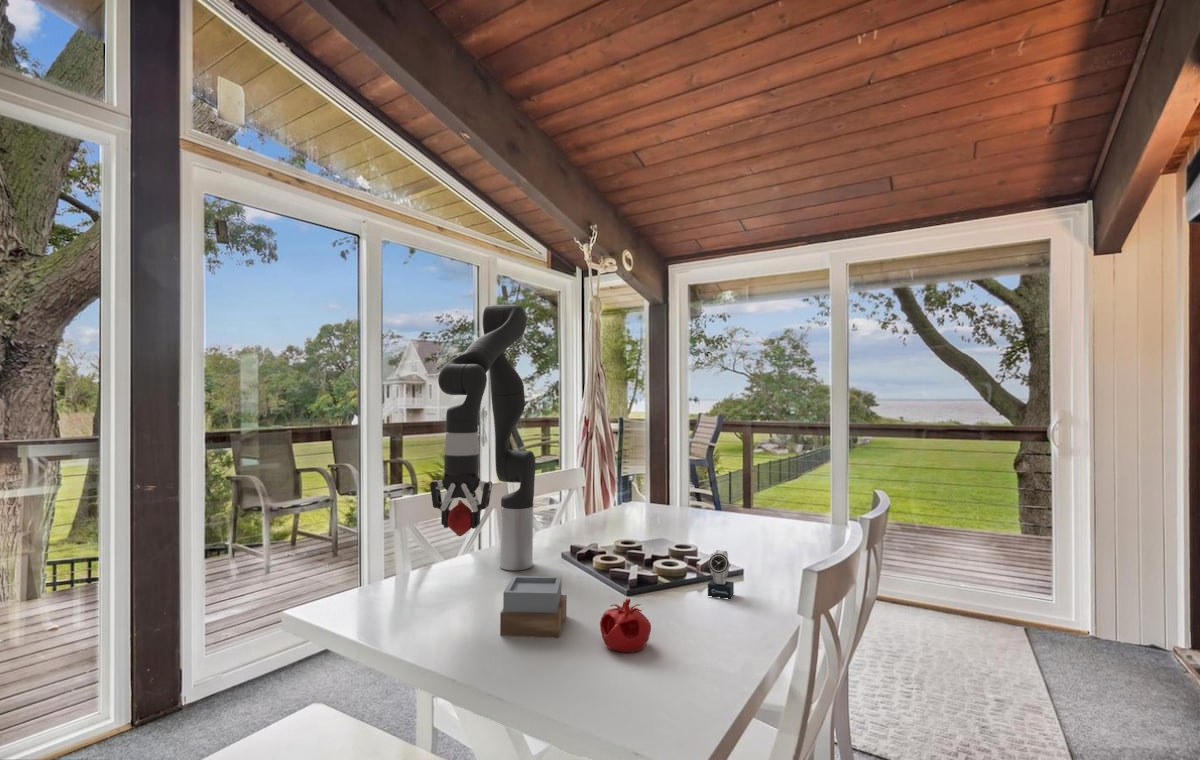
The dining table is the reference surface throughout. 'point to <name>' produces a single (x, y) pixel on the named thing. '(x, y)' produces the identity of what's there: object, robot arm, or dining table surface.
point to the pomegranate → (625, 628)
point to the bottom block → (534, 622)
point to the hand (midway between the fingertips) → (460, 527)
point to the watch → (720, 576)
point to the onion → (460, 519)
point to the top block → (532, 594)
